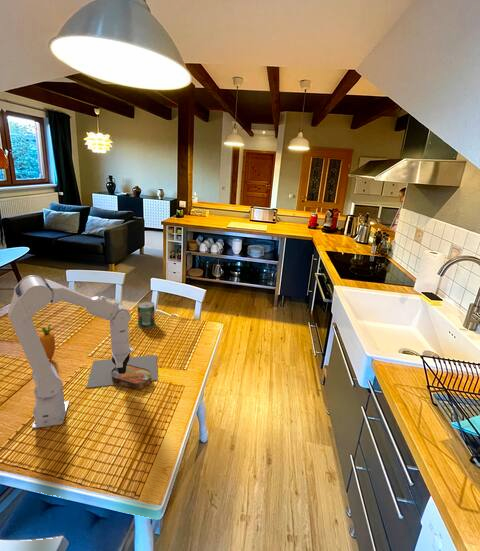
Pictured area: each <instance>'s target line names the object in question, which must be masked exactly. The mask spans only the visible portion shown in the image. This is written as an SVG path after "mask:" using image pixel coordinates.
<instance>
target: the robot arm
mask: <svg viewBox="0 0 480 551" xmlns="http://www.w3.org/2000/svg"><path fill="white" fill-rule="evenodd" d="M60 301H62V302H66V303H70V304H72V305H75V306H78V307H81V308H85V310H86V312H87V314H89V315H92V316H95V317H97V318H100V319H103V320H106V321H109V331H110V333H109V334H110V345H111V346H110V347H111V349H110V350H111V351H110V352H111V353H110V354H111V355H112V356H111V359H112V362H113V363H114V364H115V365H116V368H117V370H118V373H119V374H125V372H126V366H127V363H128V361H129V359H130V356H131V353H133V352H134V347H130V332H129V331H130V329H129V323H130V321H131V319H132V315H131V312H129V310H128V309H127V308H126V307H125V306H123V305H122V304H120V302H116V301H113V302H112V301H110V300H108V299H107V298H106V296H103V295H101V296H98V295H94V296H92V297H90V296H86V295H85V294H82V293H80V292H78V291H76V290H74V289H71V288H69V287H67V286H65V285H62V284H60V283H58V282H55V281H54V280H51V279H47V278H44V279H43V278H42V277H40V276H38V275H35V274H32V275H27V276H24V277H23V278H22V279H20V281H19V282H18V283H17V284H16V285H15V287H14V290H13V294H12V298H11V301H10V305H9V307H8V310H7V317H8V319H9V321H10V323H11V326H12V328H13V329H14V330H13V331H14V332H15V335H16V337H17V339H18V340H19V343H20V346H21V348H22V351H23V352H24V354H25V357H26V359H27V361H28V364H29V366H30V368H31V370H32V373H31V378H32V380H33V381H34V384H35V388H34V390H33V391H34V393H33V394H34V399H35V404H34V407H33V409H32V413H33V414H32V415H33V420H34V421H33V423H32V425H31V428H32V429H39V428H45V427H46V428H47V427H53V426H58V425H59V426H60V425H62V424H63V423H64V420H65V416H66V414H67V412H68V407H69V405H70V401H69V400H66V401H65V395H64V388H63V386H64V383H63V381H62V379H61V378H60V376H59V374H58V372H57V368H56V367H55V364H52V363H51V362H50V359H48V357H47V355H46V353H45V350H44V348H43V346H42V343H41V341H40V336H39V334H38V332H37V328H36V327H35V323H34V321H33V320H32V318H33V317H34V316H35V314H37V313H38V312H39V311H41V310H42V309H43V308H45V307H46V306H48V305H49V304H50V303H51V304H52V305H54V304H57V303H59V302H60Z"/></svg>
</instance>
